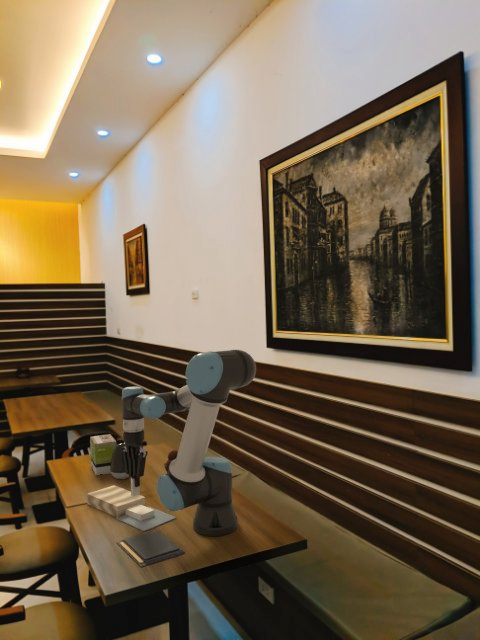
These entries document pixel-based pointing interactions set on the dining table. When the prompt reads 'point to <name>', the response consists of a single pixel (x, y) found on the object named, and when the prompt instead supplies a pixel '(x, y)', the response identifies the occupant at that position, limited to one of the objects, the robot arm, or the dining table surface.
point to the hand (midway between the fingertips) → (135, 495)
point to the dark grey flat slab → (150, 548)
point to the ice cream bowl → (170, 458)
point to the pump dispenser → (118, 463)
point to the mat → (147, 520)
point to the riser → (114, 500)
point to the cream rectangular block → (139, 512)
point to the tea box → (102, 453)
